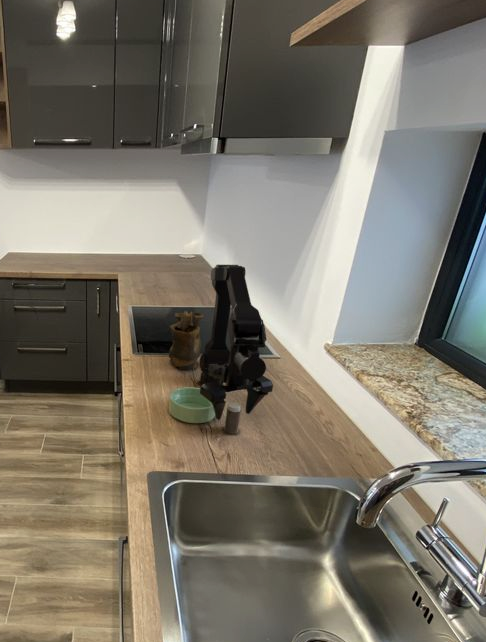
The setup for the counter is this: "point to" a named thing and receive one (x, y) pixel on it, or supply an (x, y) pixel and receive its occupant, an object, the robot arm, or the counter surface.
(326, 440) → the counter surface
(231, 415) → the shaker
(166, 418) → the counter surface
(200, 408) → the bowl
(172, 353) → the pottery vessel
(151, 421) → the counter surface
